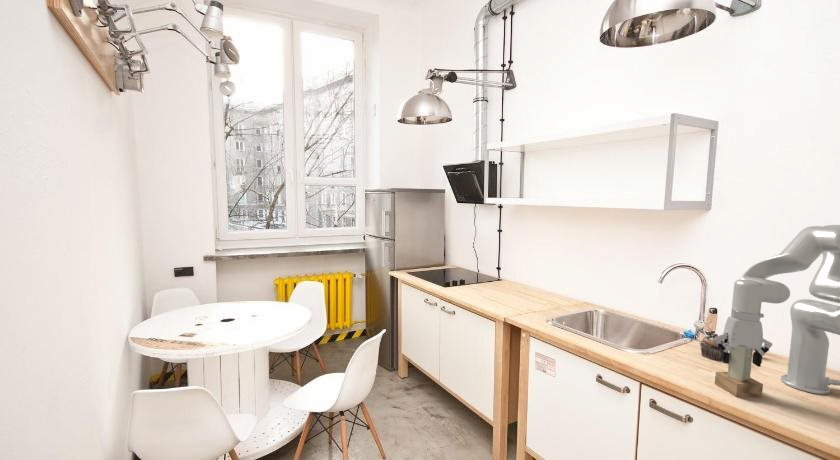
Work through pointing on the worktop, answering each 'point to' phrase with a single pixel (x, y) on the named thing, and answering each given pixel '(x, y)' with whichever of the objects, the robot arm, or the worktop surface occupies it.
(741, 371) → the skincare box
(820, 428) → the worktop surface
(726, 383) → the block
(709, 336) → the cupcake
